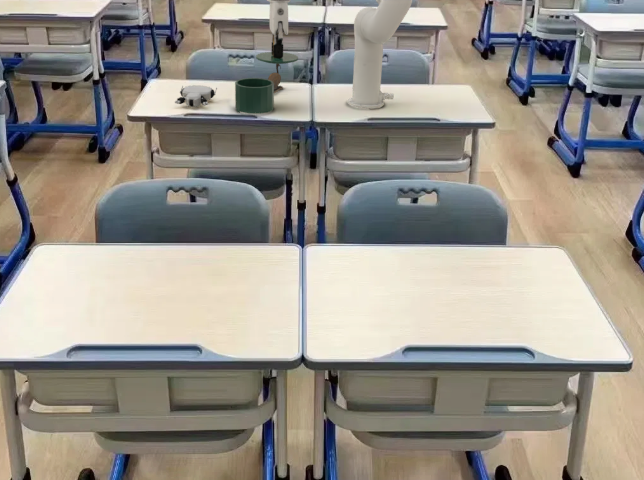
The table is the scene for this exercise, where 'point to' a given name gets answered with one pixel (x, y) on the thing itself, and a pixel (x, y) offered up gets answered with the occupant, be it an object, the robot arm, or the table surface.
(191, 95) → the robot toy
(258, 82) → the tin
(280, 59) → the lid
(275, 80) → the figurine
